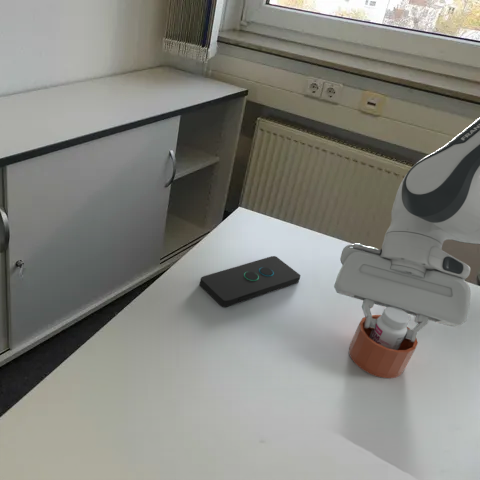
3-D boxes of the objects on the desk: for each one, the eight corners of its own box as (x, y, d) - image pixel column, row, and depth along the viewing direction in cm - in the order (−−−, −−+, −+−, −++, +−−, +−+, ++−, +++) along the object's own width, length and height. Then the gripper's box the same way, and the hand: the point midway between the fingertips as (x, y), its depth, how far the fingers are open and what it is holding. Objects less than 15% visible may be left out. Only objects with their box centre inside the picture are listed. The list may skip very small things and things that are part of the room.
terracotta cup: (409, 357, 94) (422, 331, 91) (396, 387, 88) (410, 360, 85) (357, 332, 98) (368, 307, 95) (341, 359, 92) (352, 333, 89)
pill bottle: (359, 348, 93) (375, 310, 88) (374, 338, 95) (391, 301, 91) (384, 365, 90) (403, 328, 85) (399, 354, 92) (418, 317, 87)
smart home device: (302, 276, 109) (225, 301, 100) (300, 282, 110) (223, 308, 101) (274, 254, 115) (199, 276, 106) (272, 260, 116) (197, 283, 107)
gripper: (348, 235, 92) (326, 313, 89) (482, 270, 86) (462, 354, 84) (342, 244, 98) (321, 317, 95) (466, 277, 92) (448, 356, 90)
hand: (388, 335), depth 89 cm, fingers closed on pill bottle, 5 cm apart
